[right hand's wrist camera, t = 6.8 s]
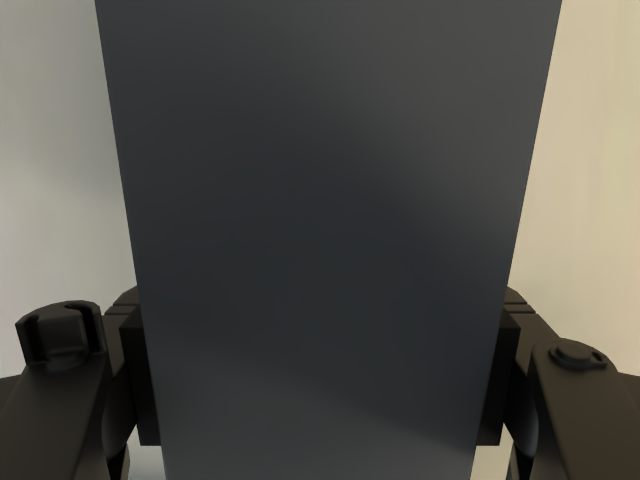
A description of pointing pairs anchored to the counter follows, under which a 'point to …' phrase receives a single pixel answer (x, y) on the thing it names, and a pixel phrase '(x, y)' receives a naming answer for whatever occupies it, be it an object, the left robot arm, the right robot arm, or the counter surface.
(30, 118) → the counter surface
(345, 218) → the post
